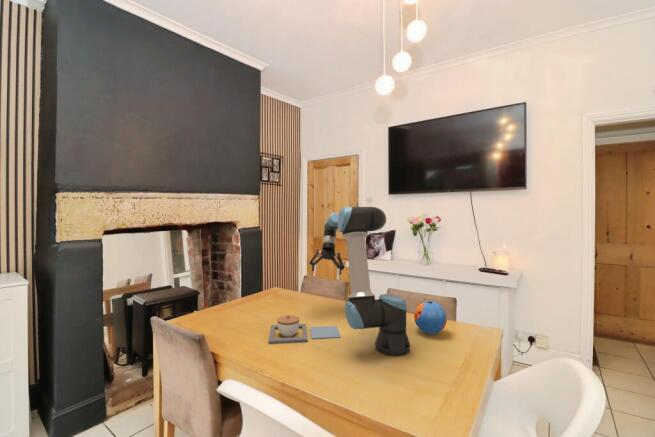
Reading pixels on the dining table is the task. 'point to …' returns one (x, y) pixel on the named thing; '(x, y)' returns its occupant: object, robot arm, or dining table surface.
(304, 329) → the puzzle board
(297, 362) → the dining table surface
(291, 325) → the lidded jar
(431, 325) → the treat dispenser ball
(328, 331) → the pad
